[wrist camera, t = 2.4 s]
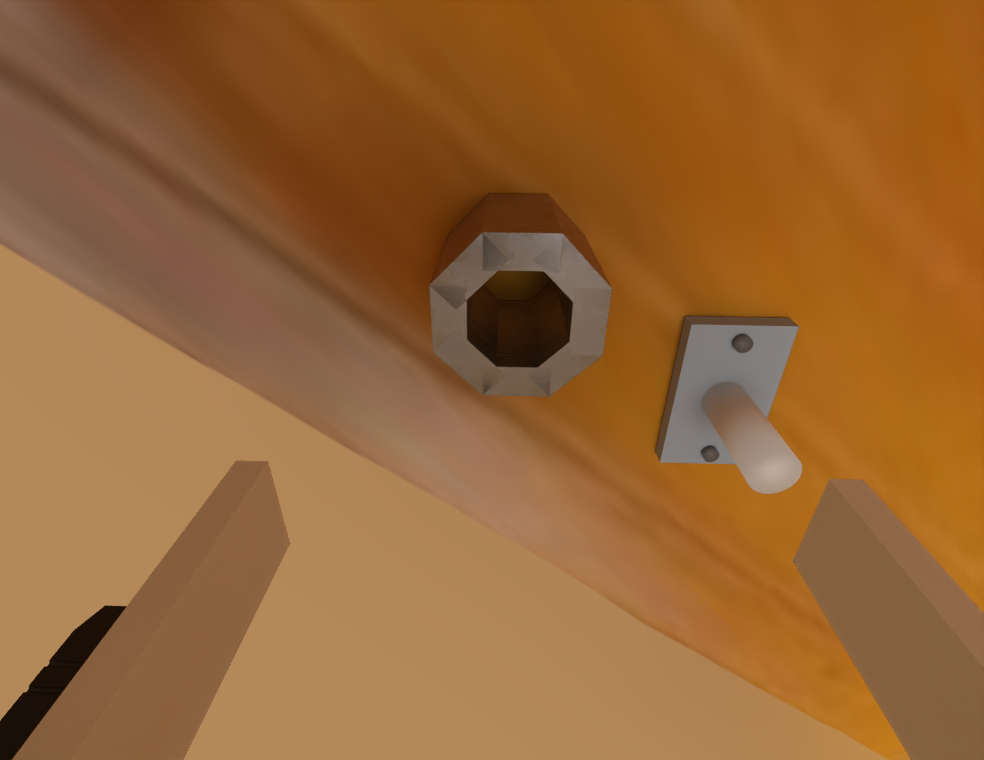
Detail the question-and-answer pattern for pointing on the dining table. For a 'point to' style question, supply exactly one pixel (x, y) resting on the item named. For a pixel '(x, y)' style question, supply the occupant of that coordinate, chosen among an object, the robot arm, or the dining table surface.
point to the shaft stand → (730, 398)
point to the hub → (518, 323)
